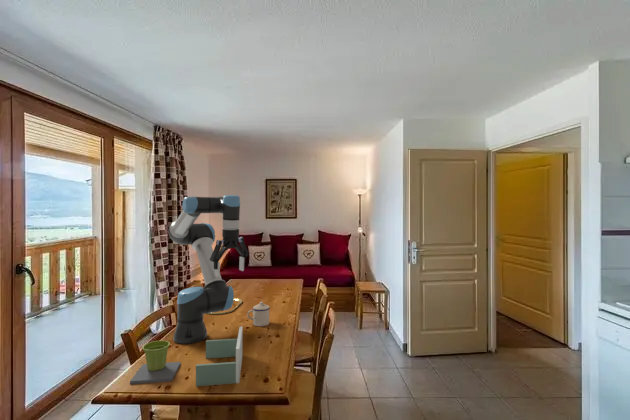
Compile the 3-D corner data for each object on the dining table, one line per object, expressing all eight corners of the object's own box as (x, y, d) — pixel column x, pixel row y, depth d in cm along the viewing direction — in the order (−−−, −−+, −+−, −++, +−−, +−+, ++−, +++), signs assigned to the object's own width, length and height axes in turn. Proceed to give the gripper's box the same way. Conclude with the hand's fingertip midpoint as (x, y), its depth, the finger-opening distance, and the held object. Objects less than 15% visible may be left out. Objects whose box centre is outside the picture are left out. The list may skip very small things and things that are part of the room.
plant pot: (160, 374, 128) (160, 350, 128) (137, 372, 130) (137, 349, 130) (174, 363, 138) (174, 341, 138) (152, 361, 139) (152, 339, 139)
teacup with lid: (270, 321, 193) (270, 300, 193) (268, 326, 184) (268, 304, 184) (249, 321, 194) (249, 300, 194) (245, 326, 185) (245, 304, 185)
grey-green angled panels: (195, 386, 122) (195, 351, 122) (206, 357, 146) (206, 328, 146) (239, 383, 124) (239, 348, 124) (242, 355, 148) (242, 326, 148)
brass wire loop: (245, 300, 240) (245, 298, 240) (229, 315, 205) (229, 313, 205) (218, 300, 241) (218, 297, 241) (198, 315, 206) (198, 312, 206)
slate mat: (129, 384, 123) (129, 381, 123) (142, 366, 137) (142, 364, 137) (172, 381, 125) (172, 378, 125) (180, 364, 139) (180, 361, 139)
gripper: (247, 225, 175) (246, 266, 178) (202, 229, 156) (201, 276, 159) (257, 227, 170) (255, 270, 173) (211, 232, 152) (210, 280, 154)
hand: (229, 273), depth 166 cm, fingers open, 13 cm apart
